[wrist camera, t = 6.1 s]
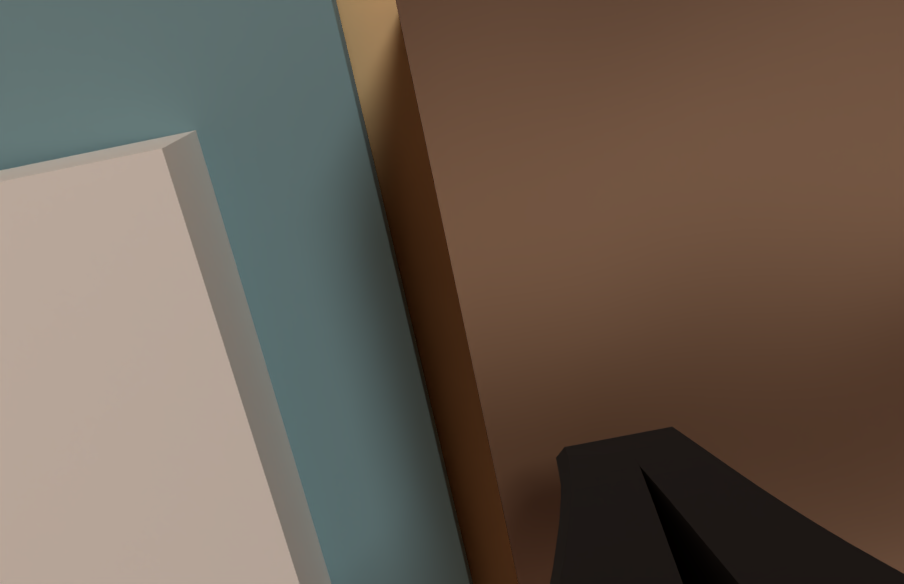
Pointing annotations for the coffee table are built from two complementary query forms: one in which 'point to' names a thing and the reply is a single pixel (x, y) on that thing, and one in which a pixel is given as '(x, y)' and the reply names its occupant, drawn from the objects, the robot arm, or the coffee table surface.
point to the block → (137, 384)
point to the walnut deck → (677, 240)
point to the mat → (268, 235)
